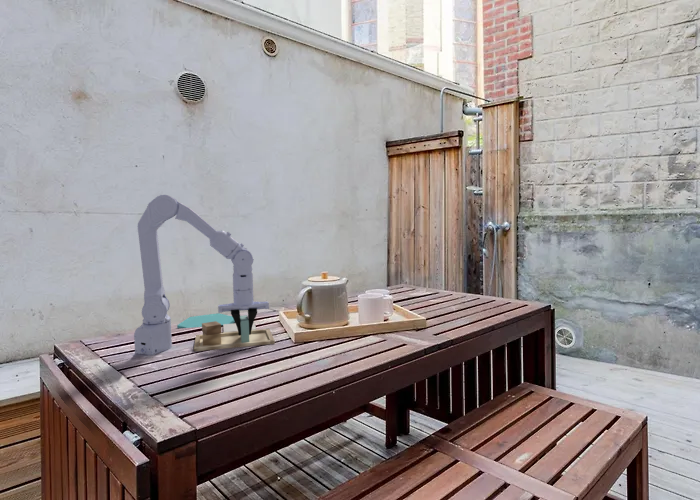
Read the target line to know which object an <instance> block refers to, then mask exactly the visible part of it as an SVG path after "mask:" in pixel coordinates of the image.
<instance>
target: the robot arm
mask: <svg viewBox="0 0 700 500" xmlns="http://www.w3.org/2000/svg"><path fill="white" fill-rule="evenodd" d="M172 218H175V220H179V221H184V222H186V223H188V224H190V225H191V226H192V227H193V228H195V229H196V230H197V231H199V232H200V233H201V234H203V235H204V236H205V237H206V238H208V239H209V246H211V247H212V248H213V250H215V251H217V252H218V253H219V254H220V255H222V256H223V257H224V258H225V259H227V260H231V261H230V262H231V263H232V265H233V266H232V270H233V271H232V293H233V294H232V295H233V297H232V298H233V302H231V303H225V304H224V303H223V304H218V305H217V311H218V313H220V314H222V313H226V312H227V313H228V312H230V316H232V317H233V319H234V321H235V322H234V323H236V326H237V329H238V334H239V336H240V335H241V327H240V316H241V314H240V311H247V316H248V320H249V335H251V330H252V325H253V322H254V323H255V319H256V317H257V315H258V310H269V309H270V302H269V301H254V274H253V272H252V271H253V264H254V257H253V255H252V253H251V251H249V250H248V248H247V247H244V245H245V244H243V243H242V242H241V243H240V242H238V241H237V240H236V239H235V238H233V237H232V233H230V232H229V231H225V230H222V229H220V230H216V229H215V228H214V227H213V226H212V225H210V223H208V222H207V221H206V220H205V219H203V218H202V216H200V215H199V213H197V212H195V211H194V210H193V209H192V208H190V207H189V206H187V205H186V204H184V203H182V202H180V201H178V200H177V199H176V198H175V197H173V196H170V195H167V194H160V195H157V196H156V197H154V199H152V200H151V201H150V202H148V204H147V206H146V208H145V210H144V211H143V213H142V215H141V217H140V219H139V220H138V222H137V235H138V242H139V251H140V258H141V267H142V278H143V284H144V285H143V286H144V293H143V302H144V303H143V306H142V308H141V316H142V318H143V319H142V323H141V325H140V326H138V327H137V328H136V329H135V330H134V334H133V339H134V353H135V354H138V355H139V354H140V355H146V356H148V355H149V356H154V355H157V354H158V353H161V352H165V351H167V350H170V349H171V348H173V342H172V341H173V339H172V322H171V319H172V318H171V316H170V315H168V312H169V310H170V307H171V304H170V301H169V299H168V297H167V296H166V291H165V287H164V284H163V283H164V282H163V273H162V265H161V264H162V263H161V255H160V246H159V238H158V237H159V236H158V230H159V229H160V227H162V225H164V224H165V222H166V221H168V220H170V219H172ZM135 354H132V357H134V356H135Z"/></svg>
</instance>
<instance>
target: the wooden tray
mask: <svg viewBox="0 0 700 500" xmlns="http://www.w3.org/2000/svg"><path fill="white" fill-rule="evenodd" d="M275 344H276V343H275V338H274V336H273V334H272V331H271V330H270V328H263V329H262V328H261V329H259V328H258V329H256V330H251V335H249V342H244V343H242V342H241V335H240V336H239V334H238V331H236V332H225V333H224V332H221V344H217V345H206V346H203V333H202V334H196V335H195V339H194V346H193V352H202V351H204V352H205V351H212V350H214V351H215V350H223V349H233V348H243V347H245V348H246V347H253V346H254V347H257V346H265V345H275Z"/></svg>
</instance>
